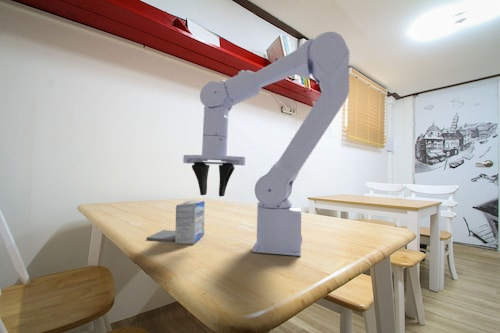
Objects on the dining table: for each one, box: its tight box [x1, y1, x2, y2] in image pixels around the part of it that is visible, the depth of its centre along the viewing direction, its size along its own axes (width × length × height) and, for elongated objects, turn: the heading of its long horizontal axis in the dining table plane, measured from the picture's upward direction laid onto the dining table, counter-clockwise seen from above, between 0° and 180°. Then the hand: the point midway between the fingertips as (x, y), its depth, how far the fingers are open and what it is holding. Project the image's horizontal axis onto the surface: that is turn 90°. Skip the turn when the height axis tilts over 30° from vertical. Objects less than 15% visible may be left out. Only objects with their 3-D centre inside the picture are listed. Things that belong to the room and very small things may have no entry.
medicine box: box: [174, 200, 206, 245], centre depth 53 cm, size 8×4×9 cm, turn 176°
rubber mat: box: [146, 229, 176, 243], centre depth 55 cm, size 6×7×1 cm
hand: (212, 195), depth 52 cm, fingers open, 4 cm apart
